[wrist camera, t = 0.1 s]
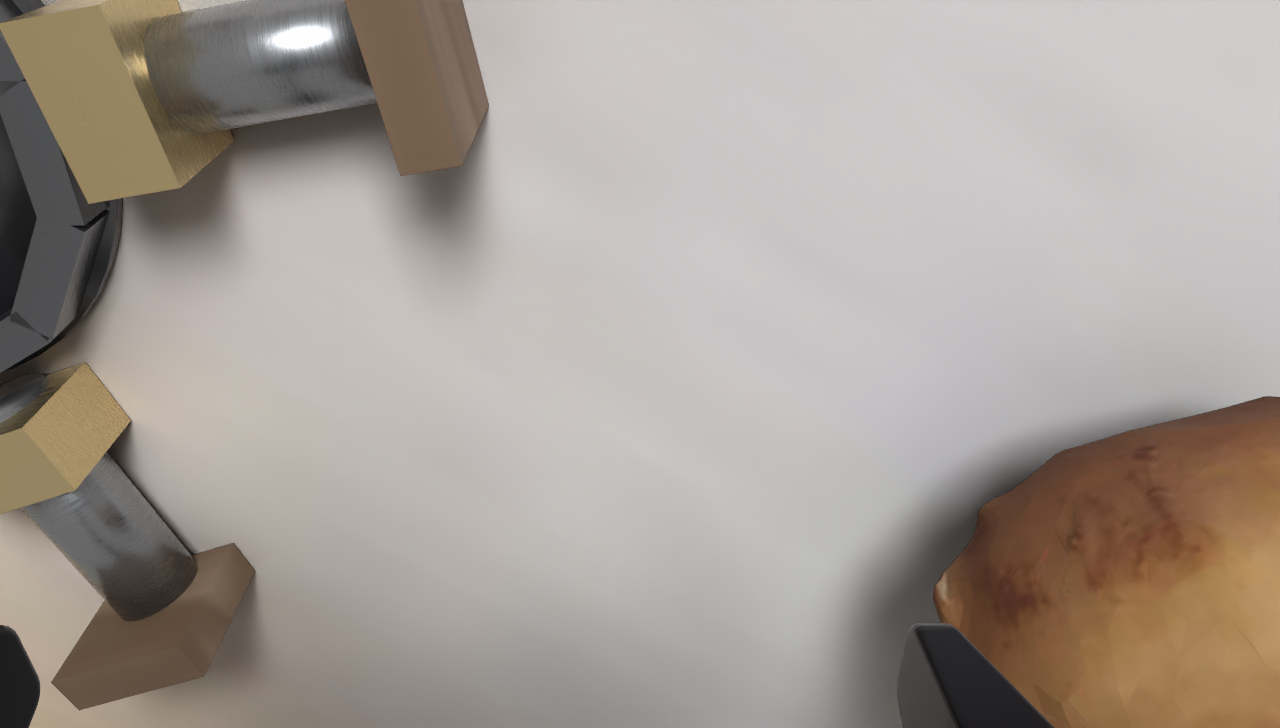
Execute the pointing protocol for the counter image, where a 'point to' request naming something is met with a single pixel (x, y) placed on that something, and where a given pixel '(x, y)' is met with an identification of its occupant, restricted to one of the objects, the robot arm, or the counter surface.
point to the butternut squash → (1136, 577)
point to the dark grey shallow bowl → (43, 223)
